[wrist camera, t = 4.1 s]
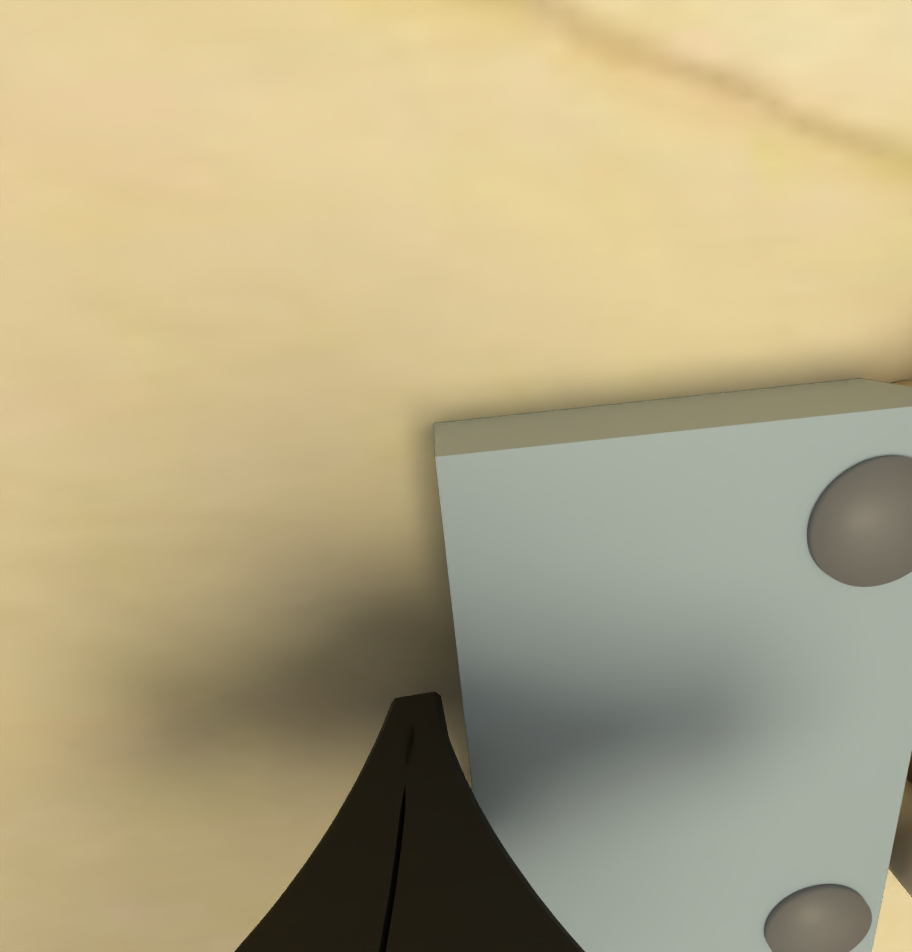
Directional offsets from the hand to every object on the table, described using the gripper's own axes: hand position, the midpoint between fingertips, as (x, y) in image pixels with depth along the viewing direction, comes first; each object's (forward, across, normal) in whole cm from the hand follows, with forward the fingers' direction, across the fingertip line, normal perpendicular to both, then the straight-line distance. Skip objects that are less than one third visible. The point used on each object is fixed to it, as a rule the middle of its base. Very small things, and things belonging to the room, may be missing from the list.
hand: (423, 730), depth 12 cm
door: (+2, -6, +1) cm, 6 cm away
